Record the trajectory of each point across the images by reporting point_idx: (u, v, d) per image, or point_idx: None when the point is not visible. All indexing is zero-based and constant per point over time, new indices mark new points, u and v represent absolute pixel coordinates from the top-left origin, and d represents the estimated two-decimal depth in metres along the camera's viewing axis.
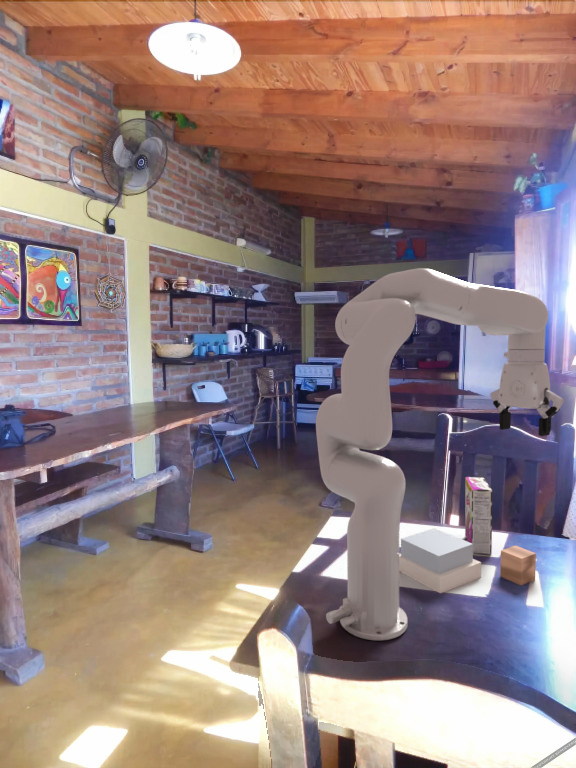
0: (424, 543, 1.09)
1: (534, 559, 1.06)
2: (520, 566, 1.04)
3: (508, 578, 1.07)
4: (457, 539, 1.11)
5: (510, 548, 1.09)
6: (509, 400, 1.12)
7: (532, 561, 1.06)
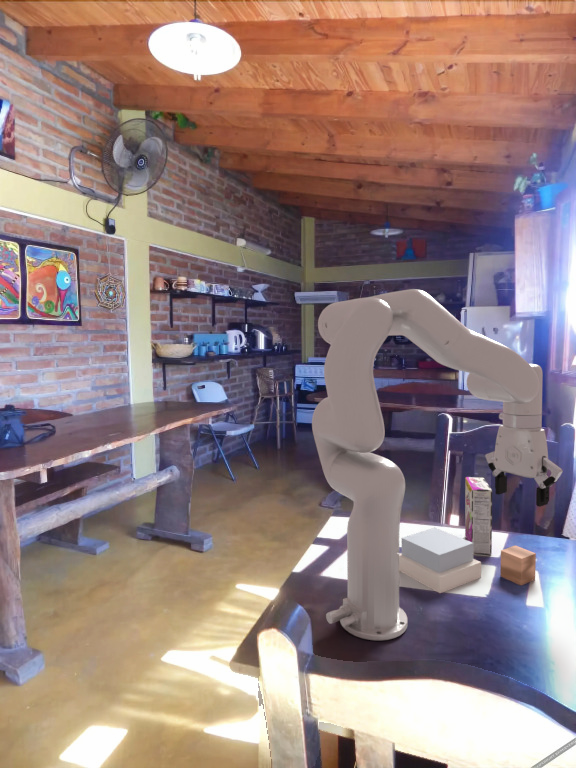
0: (425, 542, 1.09)
1: (534, 559, 1.06)
2: (520, 566, 1.04)
3: (508, 578, 1.07)
4: (458, 538, 1.11)
5: (510, 548, 1.09)
6: (505, 466, 1.06)
7: (532, 561, 1.06)
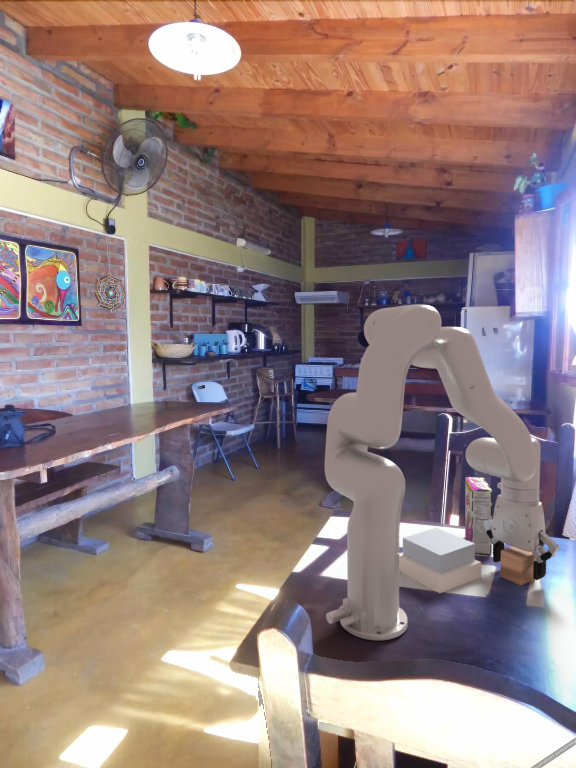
0: (426, 542, 1.09)
1: (534, 559, 1.06)
2: (520, 566, 1.04)
3: (508, 578, 1.07)
4: (459, 539, 1.11)
5: (510, 548, 1.09)
6: (503, 537, 1.07)
7: (532, 561, 1.06)
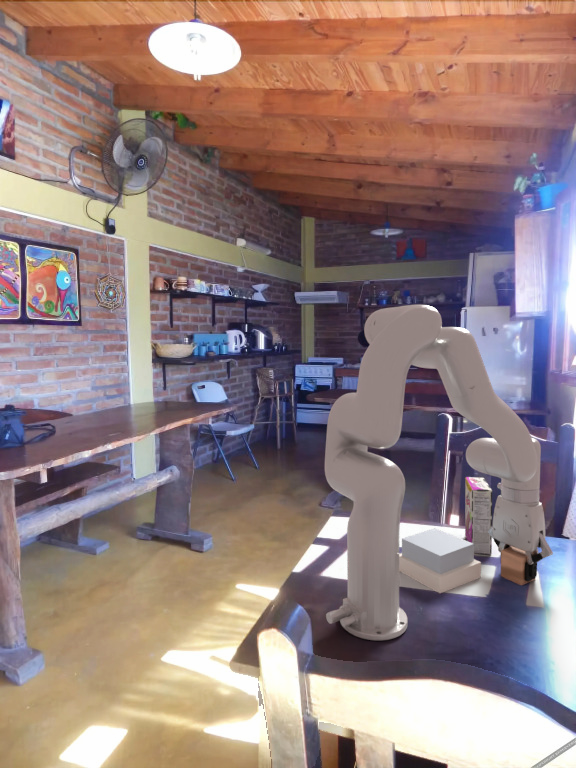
0: (425, 543, 1.09)
1: None
2: (520, 566, 1.04)
3: (508, 578, 1.07)
4: (458, 539, 1.11)
5: (510, 548, 1.09)
6: (503, 537, 1.07)
7: None
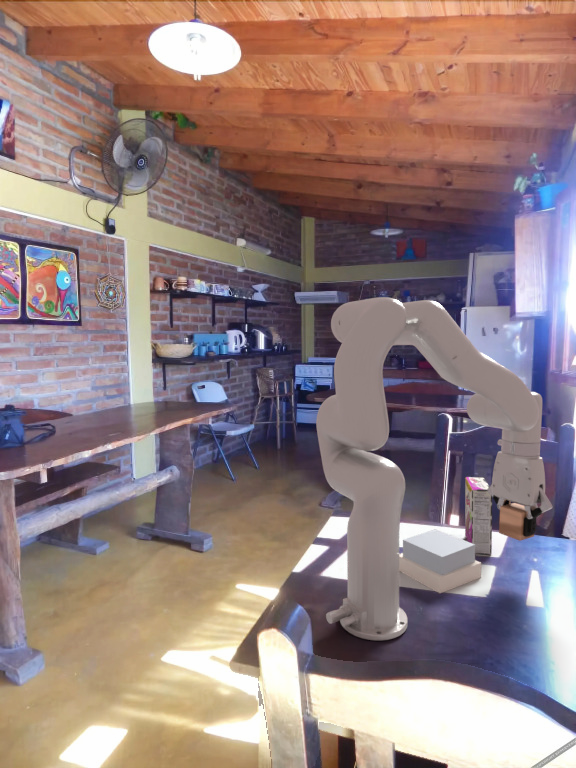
0: (426, 544, 1.08)
1: None
2: (519, 521, 1.03)
3: (507, 534, 1.06)
4: (459, 540, 1.10)
5: (509, 505, 1.08)
6: (502, 493, 1.06)
7: None
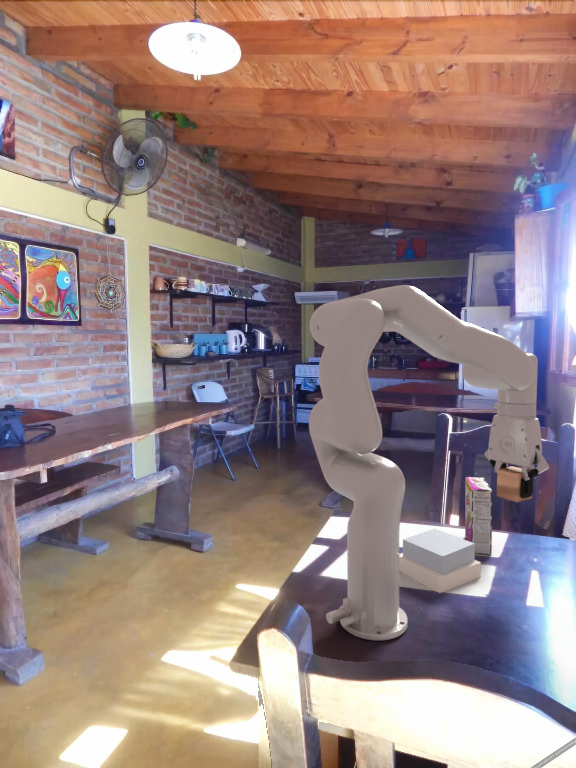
0: (426, 543, 1.09)
1: None
2: (516, 482, 1.03)
3: (504, 496, 1.05)
4: (459, 539, 1.11)
5: (507, 468, 1.08)
6: (499, 455, 1.06)
7: None
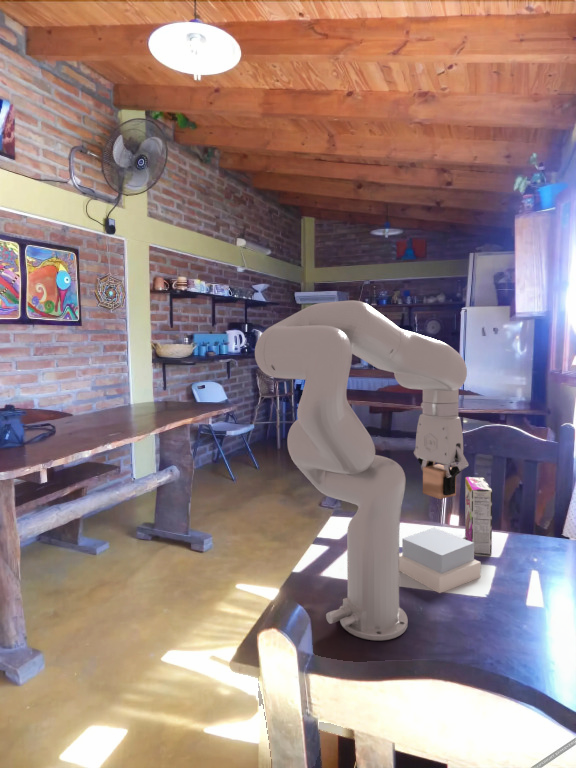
0: (426, 543, 1.09)
1: None
2: (439, 479, 1.05)
3: (429, 493, 1.08)
4: (458, 538, 1.11)
5: (433, 465, 1.10)
6: (424, 453, 1.08)
7: None
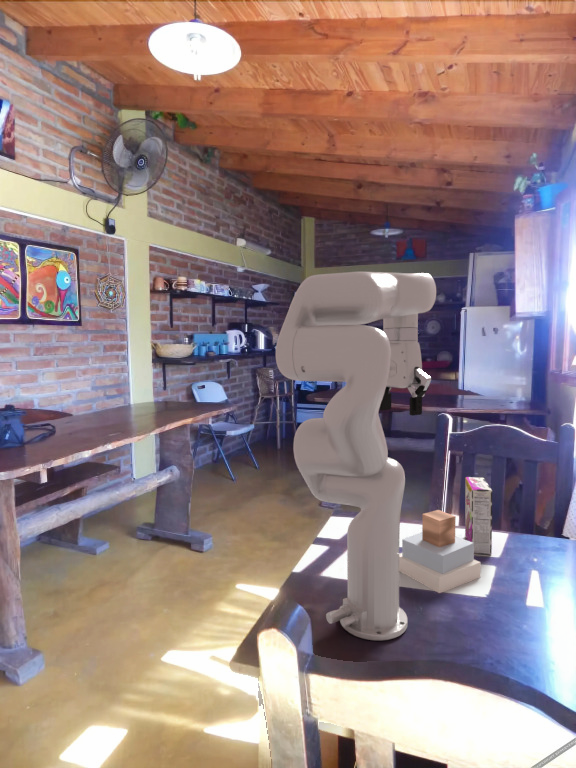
0: (426, 543, 1.09)
1: (453, 522, 1.08)
2: (438, 528, 1.06)
3: (428, 541, 1.09)
4: (458, 538, 1.11)
5: (432, 512, 1.11)
6: None
7: (451, 523, 1.08)
